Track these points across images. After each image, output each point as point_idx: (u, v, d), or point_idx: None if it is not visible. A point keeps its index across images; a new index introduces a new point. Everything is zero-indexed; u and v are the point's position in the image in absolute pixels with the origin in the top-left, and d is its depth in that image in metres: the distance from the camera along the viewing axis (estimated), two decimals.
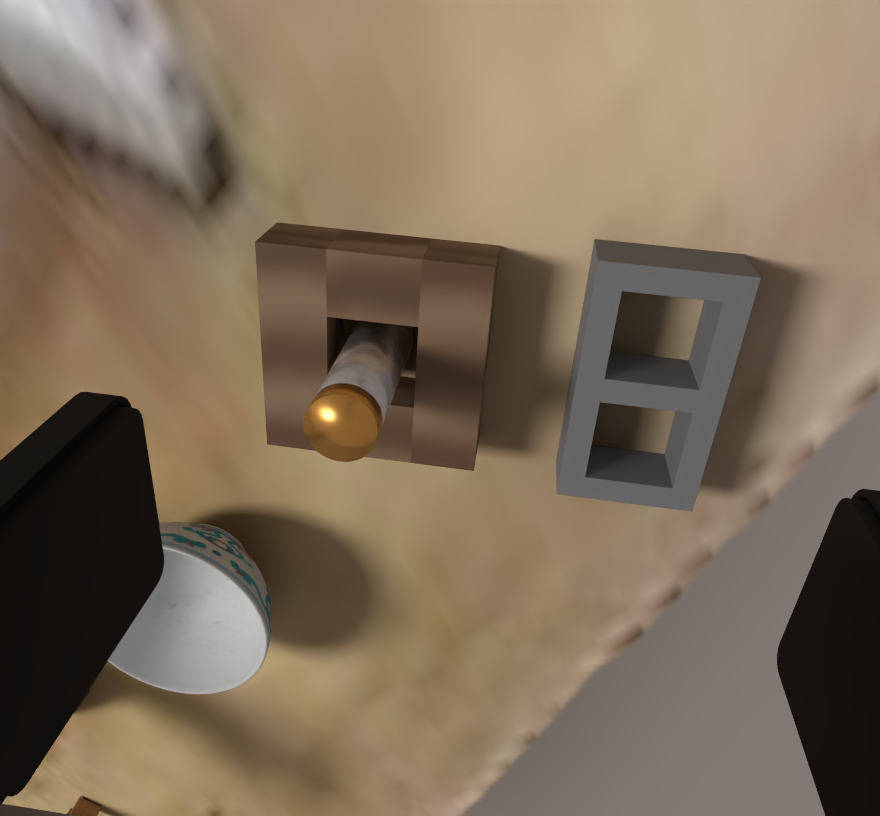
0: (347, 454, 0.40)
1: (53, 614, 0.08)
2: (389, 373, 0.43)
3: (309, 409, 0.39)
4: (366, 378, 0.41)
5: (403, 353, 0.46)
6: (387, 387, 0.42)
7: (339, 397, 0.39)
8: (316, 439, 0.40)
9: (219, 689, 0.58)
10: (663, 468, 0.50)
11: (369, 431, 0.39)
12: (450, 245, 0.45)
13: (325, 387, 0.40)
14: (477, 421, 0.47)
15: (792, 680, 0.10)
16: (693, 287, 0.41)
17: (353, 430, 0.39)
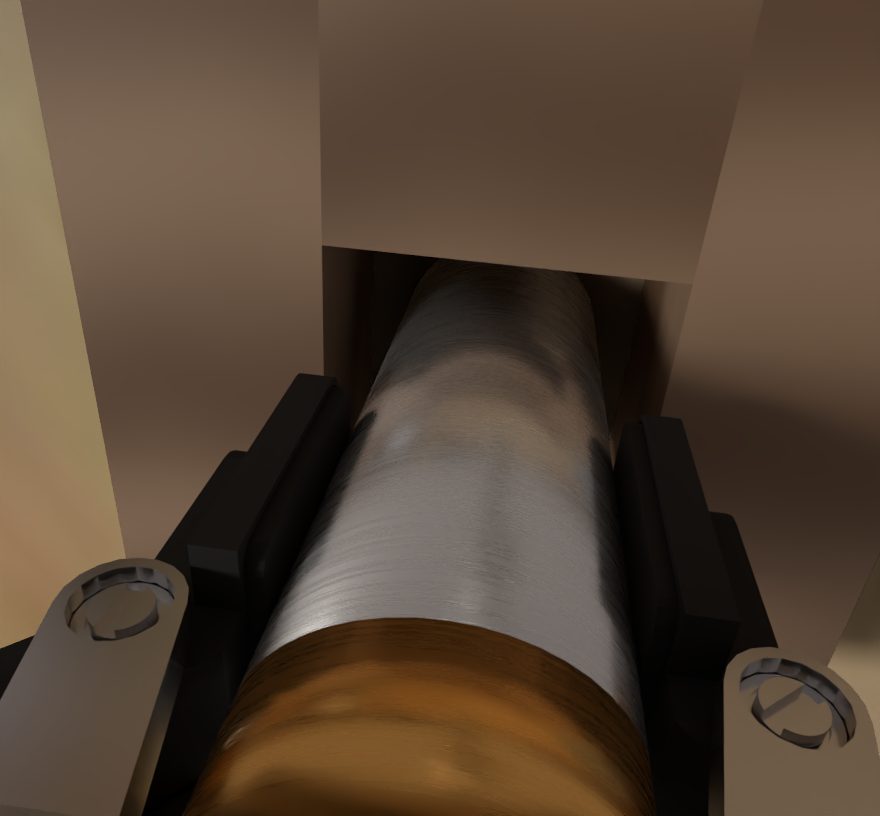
0: None
1: None
2: (607, 489, 0.09)
3: None
4: (546, 555, 0.07)
5: (602, 387, 0.13)
6: (624, 579, 0.08)
7: (418, 798, 0.05)
8: None
9: None
10: None
11: None
12: None
13: (309, 638, 0.06)
14: (844, 618, 0.14)
15: None
16: None
17: None
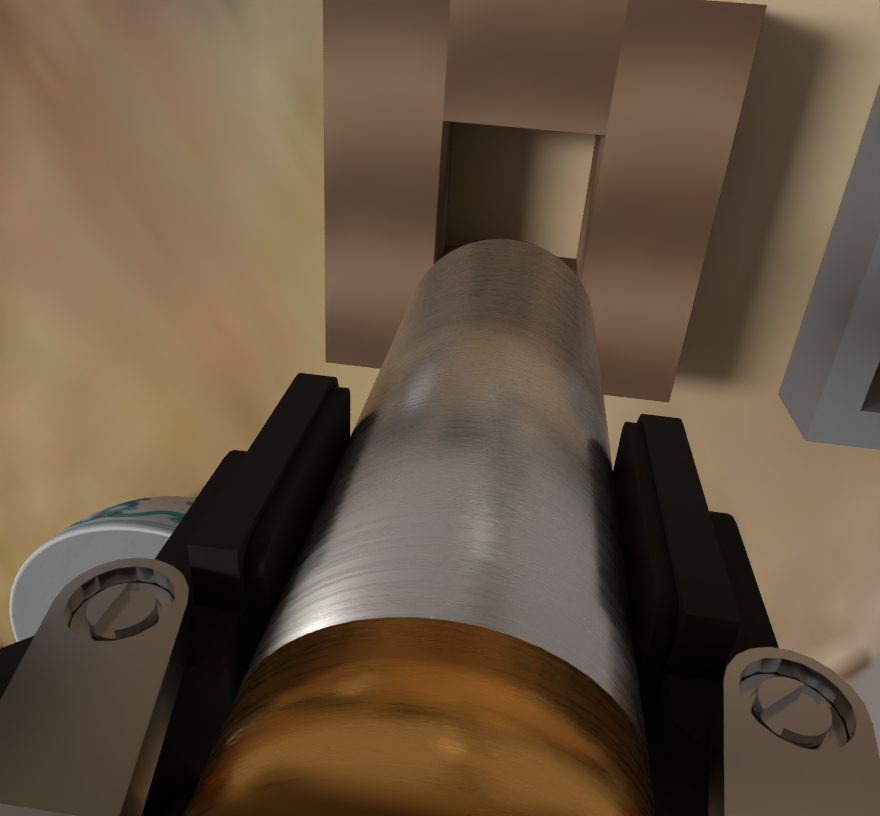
0: None
1: None
2: (607, 490, 0.09)
3: None
4: (546, 555, 0.07)
5: None
6: (623, 579, 0.08)
7: (419, 797, 0.05)
8: None
9: None
10: None
11: None
12: None
13: (310, 638, 0.06)
14: (688, 313, 0.28)
15: None
16: None
17: None
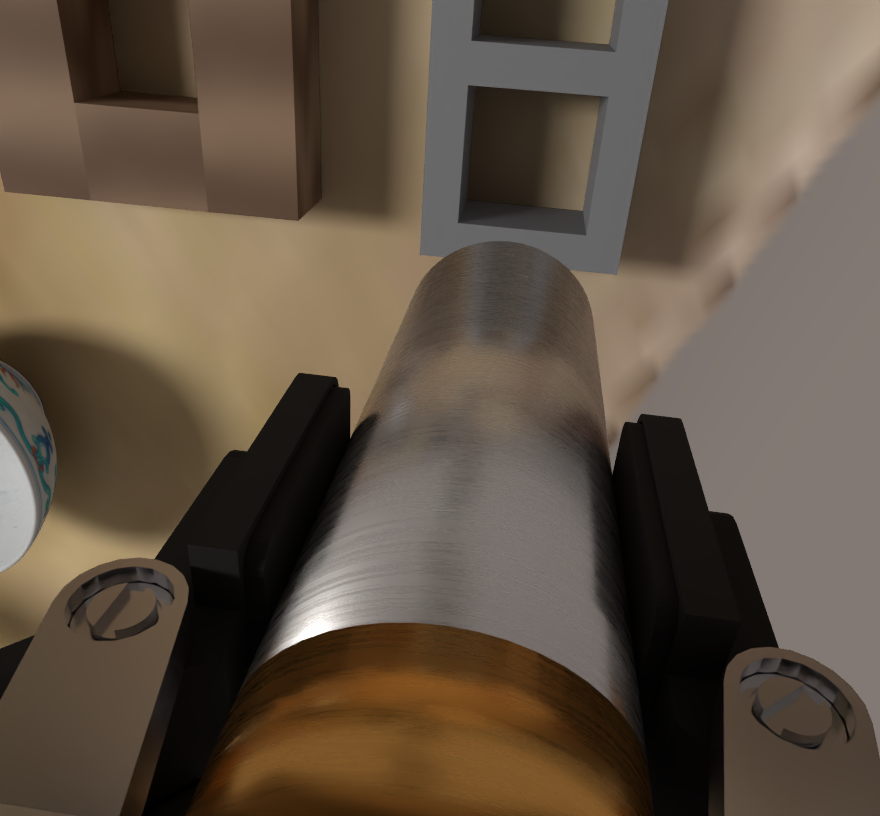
0: None
1: None
2: (606, 493, 0.09)
3: None
4: (544, 559, 0.07)
5: (601, 390, 0.13)
6: (623, 582, 0.08)
7: (418, 802, 0.05)
8: None
9: None
10: (577, 220, 0.34)
11: None
12: None
13: (308, 643, 0.06)
14: (293, 132, 0.32)
15: None
16: None
17: None
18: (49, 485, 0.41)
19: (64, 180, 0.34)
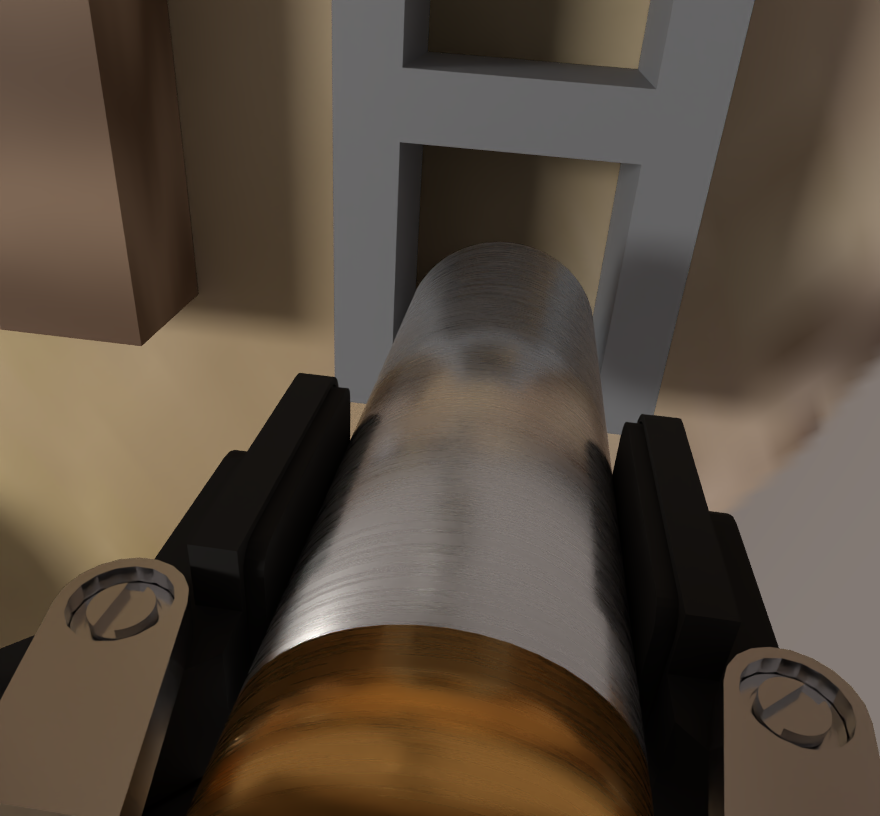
0: None
1: None
2: (606, 494, 0.09)
3: None
4: (544, 562, 0.07)
5: (601, 391, 0.13)
6: (623, 583, 0.08)
7: (418, 807, 0.05)
8: None
9: None
10: None
11: None
12: None
13: (309, 645, 0.06)
14: (117, 213, 0.19)
15: None
16: None
17: None
18: None
19: None
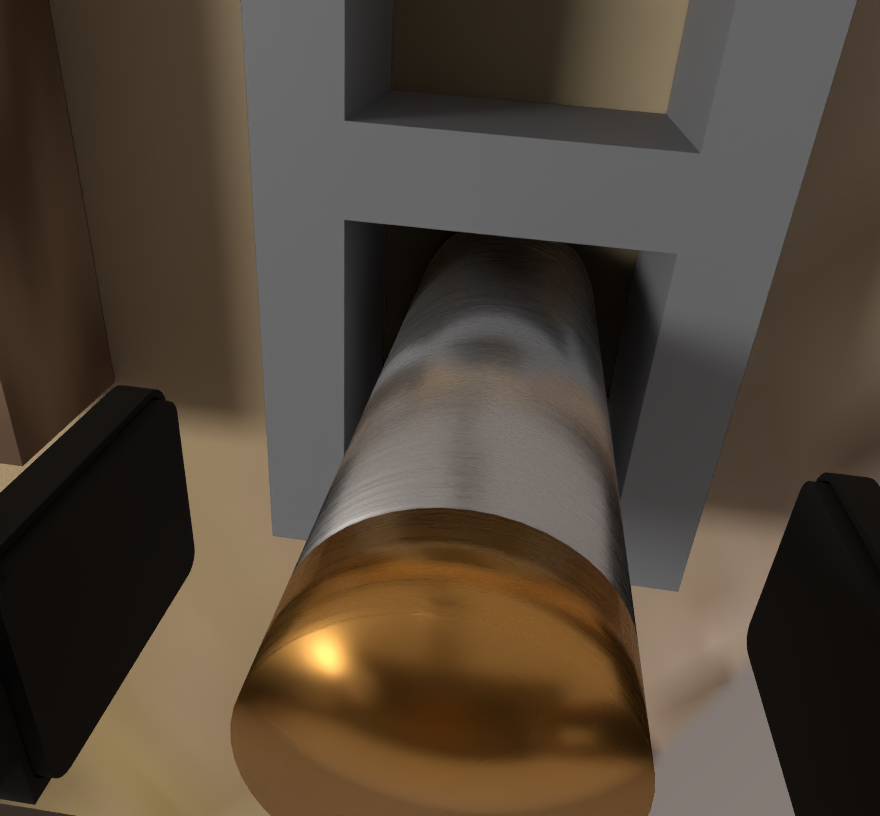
0: None
1: (96, 601, 0.09)
2: (604, 429, 0.11)
3: (263, 674, 0.07)
4: (550, 468, 0.08)
5: None
6: (617, 499, 0.10)
7: (449, 627, 0.06)
8: (305, 802, 0.08)
9: None
10: None
11: (607, 793, 0.07)
12: None
13: (353, 527, 0.08)
14: None
15: (760, 660, 0.10)
16: None
17: (513, 782, 0.07)
18: None
19: None
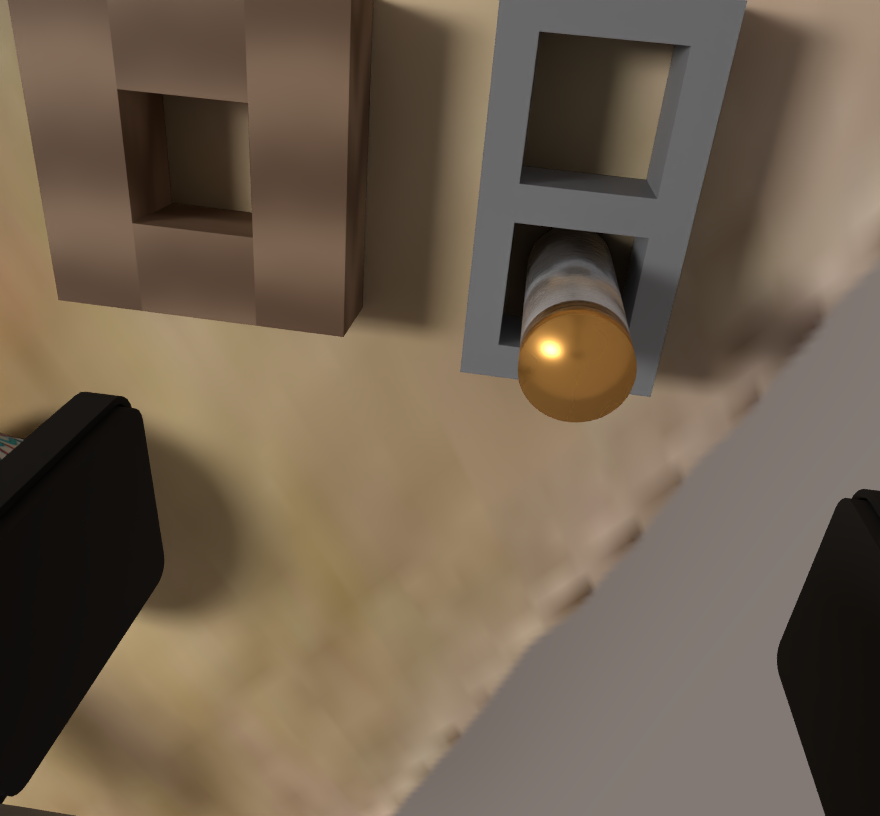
0: (580, 411, 0.26)
1: (53, 614, 0.08)
2: (620, 298, 0.29)
3: (533, 337, 0.25)
4: (605, 297, 0.27)
5: None
6: (625, 316, 0.28)
7: (586, 317, 0.25)
8: (535, 386, 0.26)
9: None
10: None
11: (624, 373, 0.25)
12: None
13: (550, 307, 0.26)
14: (343, 257, 0.33)
15: (792, 680, 0.10)
16: (645, 21, 0.27)
17: (598, 371, 0.25)
18: None
19: (117, 292, 0.35)
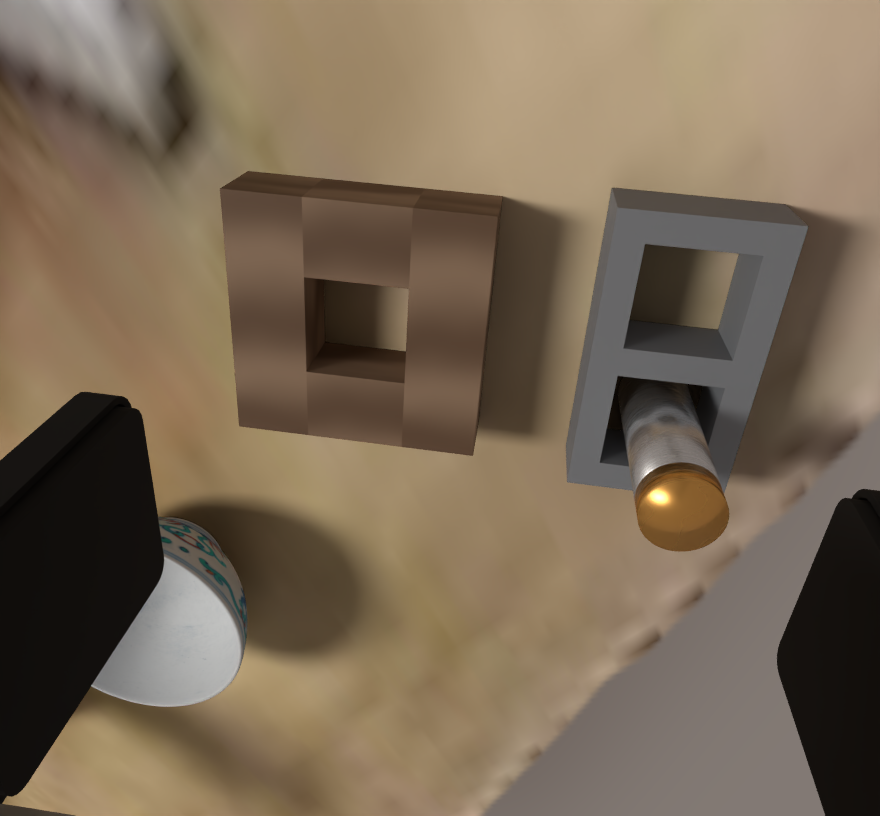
0: (684, 544, 0.35)
1: (53, 614, 0.08)
2: (706, 443, 0.38)
3: (651, 494, 0.34)
4: (700, 454, 0.35)
5: None
6: None
7: (693, 482, 0.33)
8: (650, 527, 0.35)
9: (190, 701, 0.52)
10: None
11: (719, 519, 0.34)
12: (446, 195, 0.39)
13: (661, 467, 0.35)
14: (477, 398, 0.42)
15: (792, 680, 0.10)
16: (728, 238, 0.36)
17: (699, 518, 0.34)
18: (246, 635, 0.51)
19: (288, 421, 0.44)
